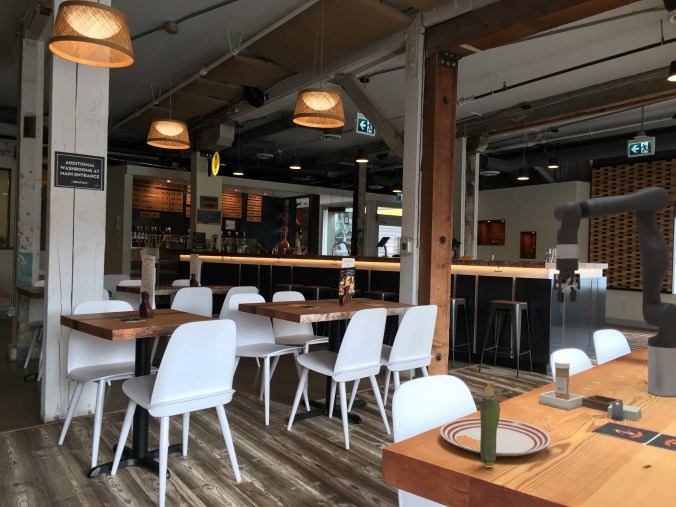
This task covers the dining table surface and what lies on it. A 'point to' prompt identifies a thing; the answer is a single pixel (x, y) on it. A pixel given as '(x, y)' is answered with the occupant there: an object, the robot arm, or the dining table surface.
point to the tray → (561, 400)
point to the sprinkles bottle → (562, 379)
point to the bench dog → (617, 410)
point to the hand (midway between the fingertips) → (567, 302)
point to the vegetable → (489, 425)
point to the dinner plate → (499, 436)
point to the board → (628, 412)
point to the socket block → (598, 402)
